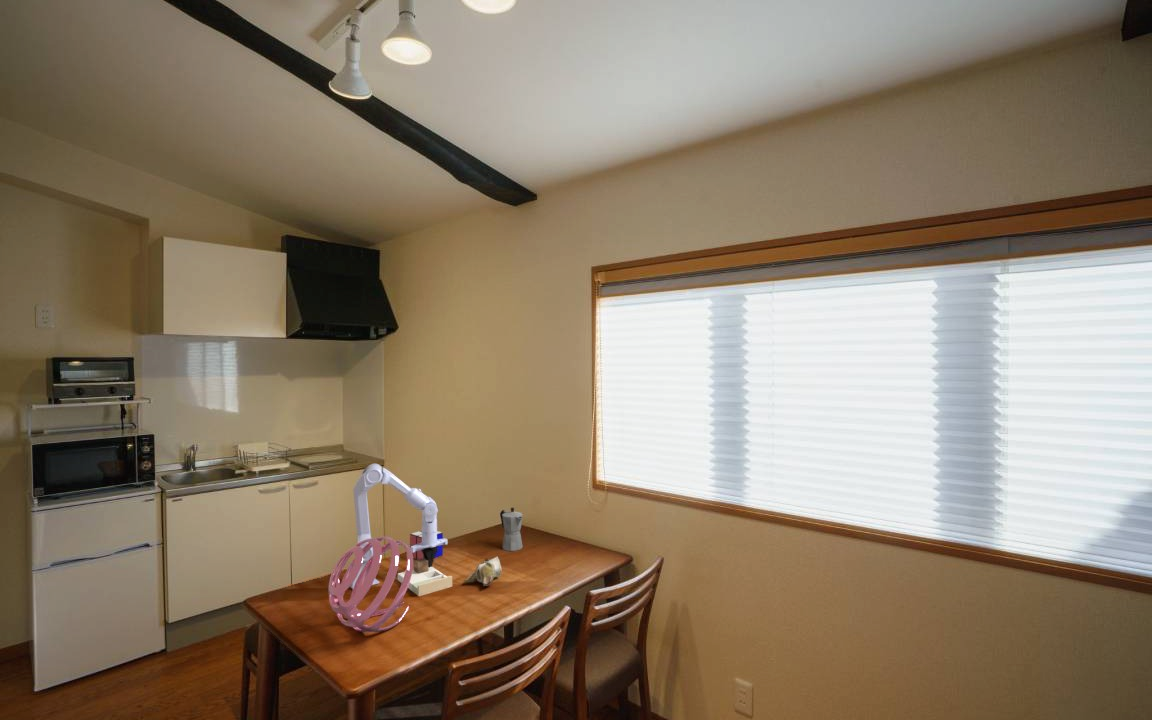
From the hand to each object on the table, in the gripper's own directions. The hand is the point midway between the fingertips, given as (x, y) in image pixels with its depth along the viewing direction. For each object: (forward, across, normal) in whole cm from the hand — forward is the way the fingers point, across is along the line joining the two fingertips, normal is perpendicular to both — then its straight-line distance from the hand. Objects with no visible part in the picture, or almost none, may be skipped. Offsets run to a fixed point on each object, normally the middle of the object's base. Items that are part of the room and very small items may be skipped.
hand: (429, 566), depth 208 cm
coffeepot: (+4, +42, +6) cm, 43 cm away
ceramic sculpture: (+4, +14, -20) cm, 24 cm away
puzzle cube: (+4, +8, +20) cm, 22 cm away
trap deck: (+3, -5, -6) cm, 8 cm away
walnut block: (+1, -3, 0) cm, 4 cm away
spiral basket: (+4, -32, -26) cm, 41 cm away
